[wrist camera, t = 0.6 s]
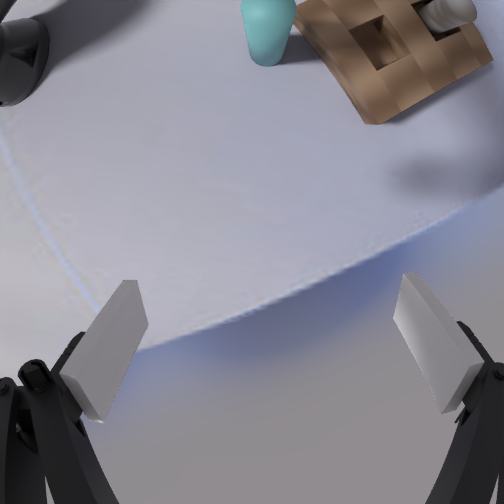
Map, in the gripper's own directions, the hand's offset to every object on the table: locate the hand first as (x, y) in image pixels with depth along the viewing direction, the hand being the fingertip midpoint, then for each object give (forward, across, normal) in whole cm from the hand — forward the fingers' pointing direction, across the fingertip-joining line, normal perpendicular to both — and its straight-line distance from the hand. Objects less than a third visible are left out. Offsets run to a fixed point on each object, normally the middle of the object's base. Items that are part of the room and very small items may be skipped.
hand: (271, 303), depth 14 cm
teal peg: (+25, +1, +17) cm, 30 cm away
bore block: (+25, +17, +21) cm, 37 cm away
